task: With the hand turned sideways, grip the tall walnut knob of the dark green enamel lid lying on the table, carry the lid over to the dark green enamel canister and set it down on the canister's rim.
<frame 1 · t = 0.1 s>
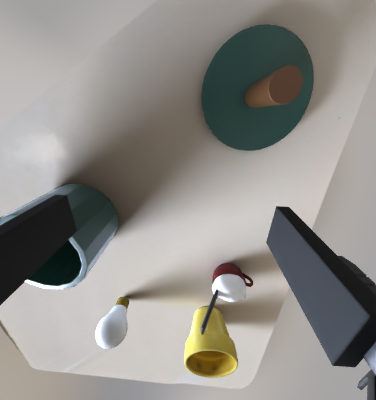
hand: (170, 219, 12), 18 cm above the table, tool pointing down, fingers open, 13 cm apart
canister: (84, 215, 33), on the table
flower pot: (208, 313, 44), on the table
cocoa: (224, 268, 37), on the table
lid: (254, 96, 23), point 1 cm above the table
light bulb: (125, 296, 43), on the table
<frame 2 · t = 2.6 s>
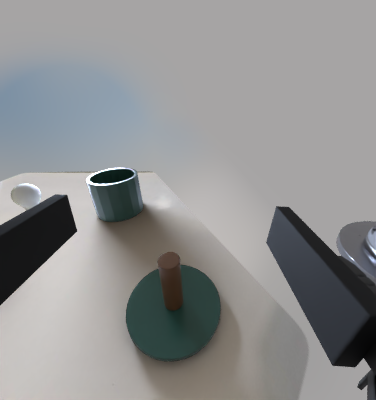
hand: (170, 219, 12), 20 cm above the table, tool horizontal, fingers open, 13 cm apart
canister: (121, 209, 52), on the table
lid: (174, 303, 27), point 1 cm above the table
light bulb: (38, 217, 50), on the table
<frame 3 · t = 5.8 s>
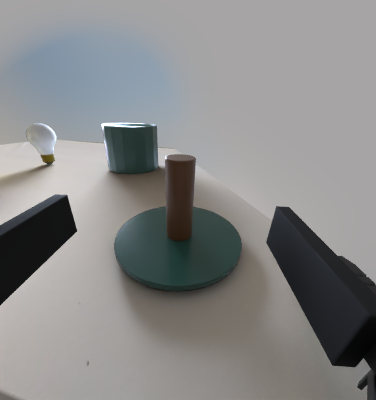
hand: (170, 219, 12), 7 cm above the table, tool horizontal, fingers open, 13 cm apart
canister: (134, 166, 48), on the table
lid: (179, 237, 20), point 1 cm above the table
light bulb: (50, 164, 48), on the table
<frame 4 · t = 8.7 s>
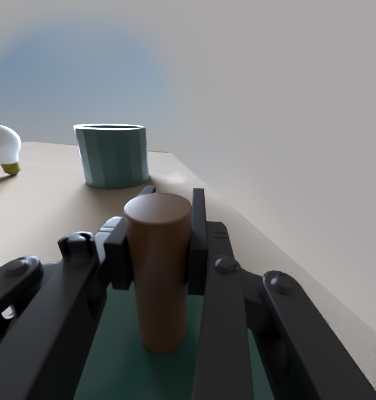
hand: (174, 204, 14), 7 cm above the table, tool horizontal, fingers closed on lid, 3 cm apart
canister: (119, 178, 39), on the table
lid: (163, 332, 11), point 1 cm above the table, touching gripper
light bulb: (14, 175, 39), on the table
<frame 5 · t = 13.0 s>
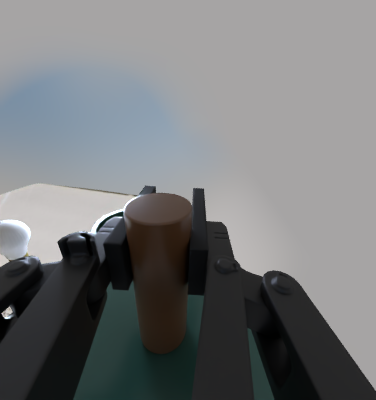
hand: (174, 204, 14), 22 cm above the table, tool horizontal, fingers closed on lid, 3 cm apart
lid: (163, 333, 11), point 16 cm above the table, touching gripper
light bulb: (23, 265, 36), on the table
when the fingers open (17 cm above the table, at t = 17.4 s): lid stays where it is, resting on canister.
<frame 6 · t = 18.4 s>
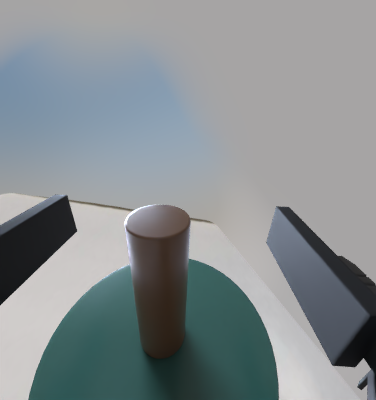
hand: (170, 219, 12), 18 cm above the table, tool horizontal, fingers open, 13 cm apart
lid: (163, 337, 12), point 10 cm above the table, touching canister
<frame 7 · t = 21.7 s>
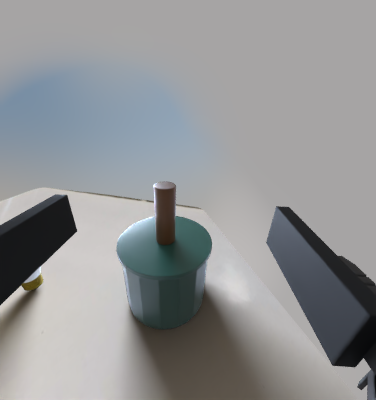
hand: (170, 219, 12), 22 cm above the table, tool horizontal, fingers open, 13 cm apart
canister: (166, 290, 31), on the table
lid: (165, 242, 27), point 10 cm above the table, touching canister
light bulb: (35, 288, 31), on the table
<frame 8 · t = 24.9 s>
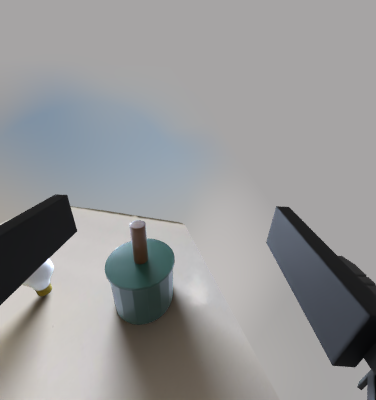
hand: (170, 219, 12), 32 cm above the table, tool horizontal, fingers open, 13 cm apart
canister: (144, 295, 41), on the table
lid: (141, 261, 37), point 10 cm above the table, touching canister
light bulb: (46, 294, 41), on the table
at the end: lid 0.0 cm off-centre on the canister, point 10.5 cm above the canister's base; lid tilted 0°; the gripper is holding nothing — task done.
